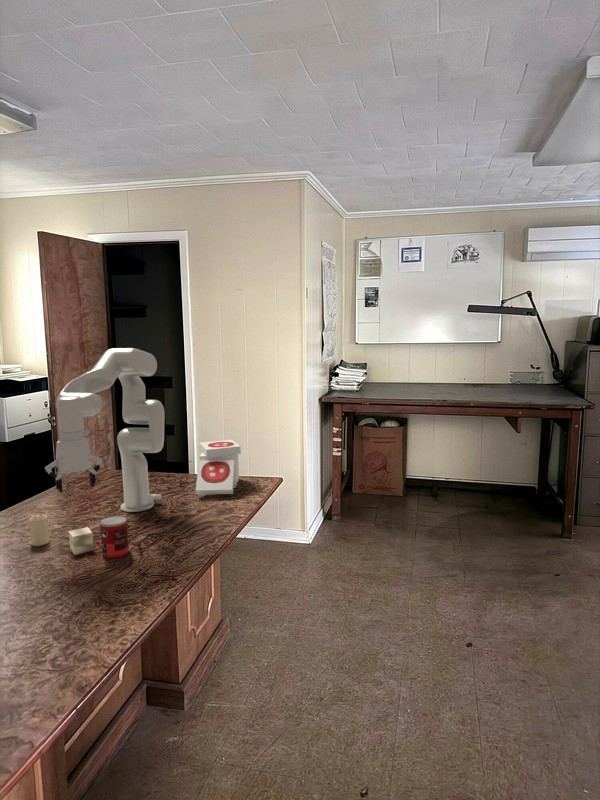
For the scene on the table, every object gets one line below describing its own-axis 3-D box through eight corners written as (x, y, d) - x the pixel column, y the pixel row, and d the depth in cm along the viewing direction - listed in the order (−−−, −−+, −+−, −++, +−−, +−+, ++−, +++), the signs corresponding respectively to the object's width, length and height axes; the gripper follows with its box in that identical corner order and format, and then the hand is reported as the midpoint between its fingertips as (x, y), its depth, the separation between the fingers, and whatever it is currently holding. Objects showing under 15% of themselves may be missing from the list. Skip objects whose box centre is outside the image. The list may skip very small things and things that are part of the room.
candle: (53, 540, 194) (50, 512, 192) (41, 546, 189) (38, 517, 187) (40, 538, 196) (37, 510, 194) (27, 545, 191) (24, 516, 189)
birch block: (89, 544, 190) (87, 527, 189) (93, 550, 185) (92, 532, 184) (70, 548, 187) (68, 531, 186) (74, 555, 182) (72, 536, 181)
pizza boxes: (191, 499, 234) (189, 456, 231) (202, 478, 264) (201, 440, 261) (238, 498, 234) (236, 455, 231) (244, 477, 264) (243, 439, 261)
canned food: (105, 549, 186) (103, 516, 184) (131, 548, 186) (128, 515, 185) (99, 559, 178) (97, 525, 177) (126, 557, 179) (123, 524, 177)
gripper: (97, 430, 188) (101, 481, 191) (40, 437, 179) (45, 490, 182) (103, 434, 182) (107, 486, 185) (44, 441, 173) (49, 496, 175)
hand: (76, 488), depth 183 cm, fingers open, 9 cm apart
